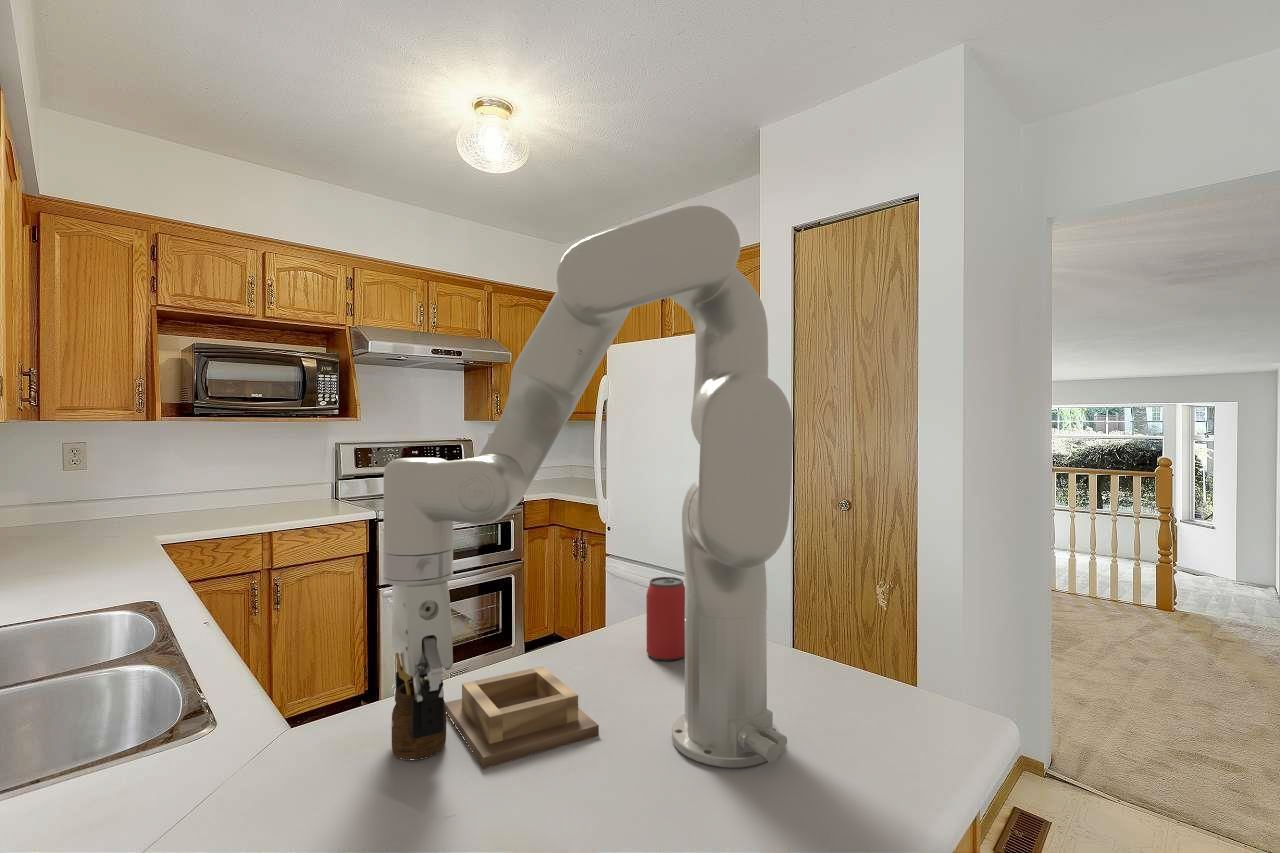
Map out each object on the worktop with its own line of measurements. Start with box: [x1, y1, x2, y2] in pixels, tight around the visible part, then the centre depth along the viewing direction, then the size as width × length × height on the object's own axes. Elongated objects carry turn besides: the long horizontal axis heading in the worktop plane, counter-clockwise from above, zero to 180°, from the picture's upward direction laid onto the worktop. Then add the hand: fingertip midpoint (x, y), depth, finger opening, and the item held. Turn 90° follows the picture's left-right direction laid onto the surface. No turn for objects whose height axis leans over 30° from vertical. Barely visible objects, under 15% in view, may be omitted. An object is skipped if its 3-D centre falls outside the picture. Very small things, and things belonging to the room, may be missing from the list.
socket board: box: [445, 666, 600, 769], centre depth 78 cm, size 16×14×4 cm
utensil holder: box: [391, 653, 447, 761], centre depth 71 cm, size 6×6×12 cm
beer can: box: [645, 576, 685, 662], centre depth 101 cm, size 7×7×12 cm
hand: (418, 717), depth 71 cm, fingers open, 8 cm apart
